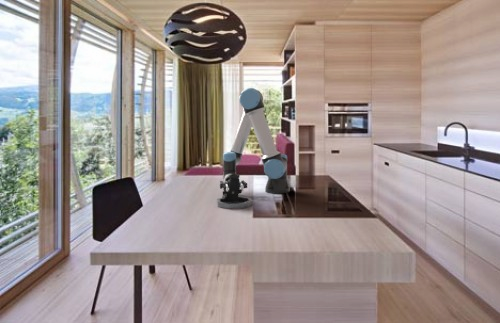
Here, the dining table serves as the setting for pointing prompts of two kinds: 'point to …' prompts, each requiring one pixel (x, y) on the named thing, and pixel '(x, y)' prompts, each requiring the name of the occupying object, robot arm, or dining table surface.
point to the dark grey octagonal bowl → (235, 203)
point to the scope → (232, 189)
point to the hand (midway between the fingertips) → (235, 188)
